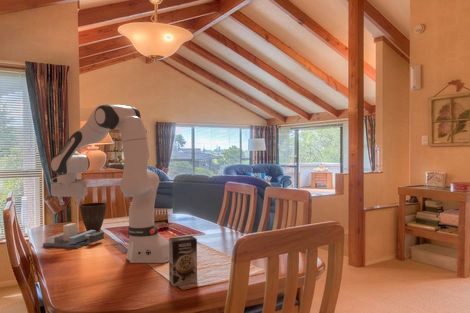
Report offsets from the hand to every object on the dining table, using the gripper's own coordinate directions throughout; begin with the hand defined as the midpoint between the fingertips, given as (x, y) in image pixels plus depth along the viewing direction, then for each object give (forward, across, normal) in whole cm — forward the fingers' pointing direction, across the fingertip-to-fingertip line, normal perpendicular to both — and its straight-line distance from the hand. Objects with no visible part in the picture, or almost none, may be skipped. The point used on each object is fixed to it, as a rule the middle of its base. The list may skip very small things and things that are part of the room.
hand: (69, 205), depth 190 cm
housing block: (+18, 0, 0) cm, 18 cm away
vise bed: (+20, -1, 0) cm, 20 cm away
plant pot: (+20, +5, -26) cm, 33 cm away
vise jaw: (+18, -12, 0) cm, 21 cm away
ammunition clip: (+20, -32, -39) cm, 55 cm away
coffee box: (+21, -80, +41) cm, 93 cm away
